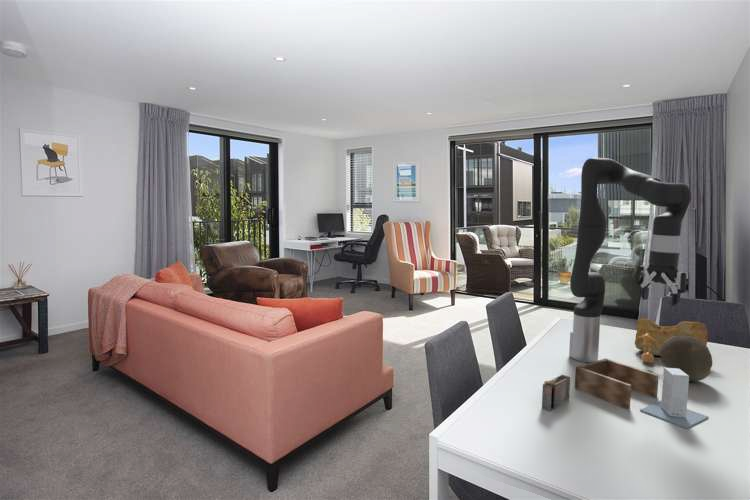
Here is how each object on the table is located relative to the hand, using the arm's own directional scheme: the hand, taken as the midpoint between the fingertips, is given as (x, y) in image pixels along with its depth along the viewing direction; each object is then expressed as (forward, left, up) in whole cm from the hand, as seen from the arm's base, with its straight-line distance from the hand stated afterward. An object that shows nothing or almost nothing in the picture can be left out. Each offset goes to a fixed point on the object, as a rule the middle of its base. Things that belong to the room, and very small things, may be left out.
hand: (659, 302), depth 136 cm
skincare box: (+10, -9, -29) cm, 32 cm away
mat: (+10, -9, -29) cm, 32 cm away
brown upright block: (-11, -32, -30) cm, 45 cm away
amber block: (-17, +45, -29) cm, 56 cm away
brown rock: (-1, +21, -29) cm, 36 cm away
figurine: (-16, +26, -29) cm, 42 cm away
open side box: (-7, -9, -29) cm, 31 cm away
